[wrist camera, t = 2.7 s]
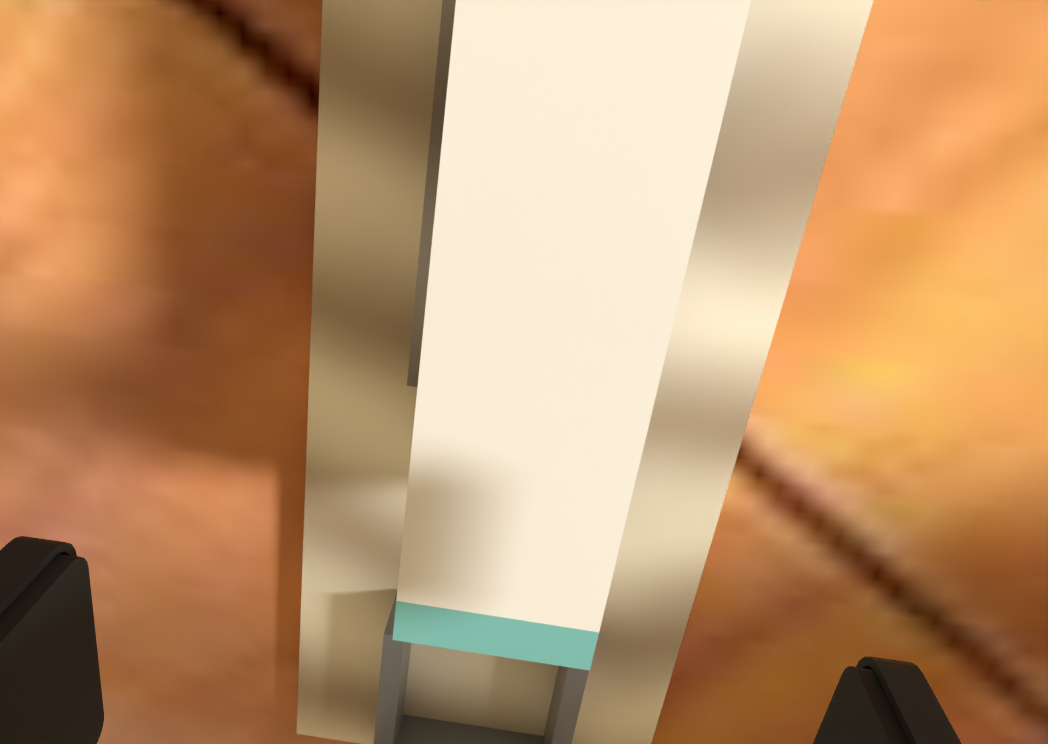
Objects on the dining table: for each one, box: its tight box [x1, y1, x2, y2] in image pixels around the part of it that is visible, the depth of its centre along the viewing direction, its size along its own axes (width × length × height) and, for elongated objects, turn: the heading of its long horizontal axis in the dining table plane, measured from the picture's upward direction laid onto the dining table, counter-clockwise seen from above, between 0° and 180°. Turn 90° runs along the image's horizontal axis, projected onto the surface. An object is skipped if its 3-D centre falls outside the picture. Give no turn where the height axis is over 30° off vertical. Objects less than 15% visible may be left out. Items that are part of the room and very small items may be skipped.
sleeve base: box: [296, 0, 873, 744], centre depth 21 cm, size 30×12×3 cm, turn 172°
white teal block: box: [392, 0, 751, 670], centre depth 16 cm, size 15×4×7 cm, turn 172°
